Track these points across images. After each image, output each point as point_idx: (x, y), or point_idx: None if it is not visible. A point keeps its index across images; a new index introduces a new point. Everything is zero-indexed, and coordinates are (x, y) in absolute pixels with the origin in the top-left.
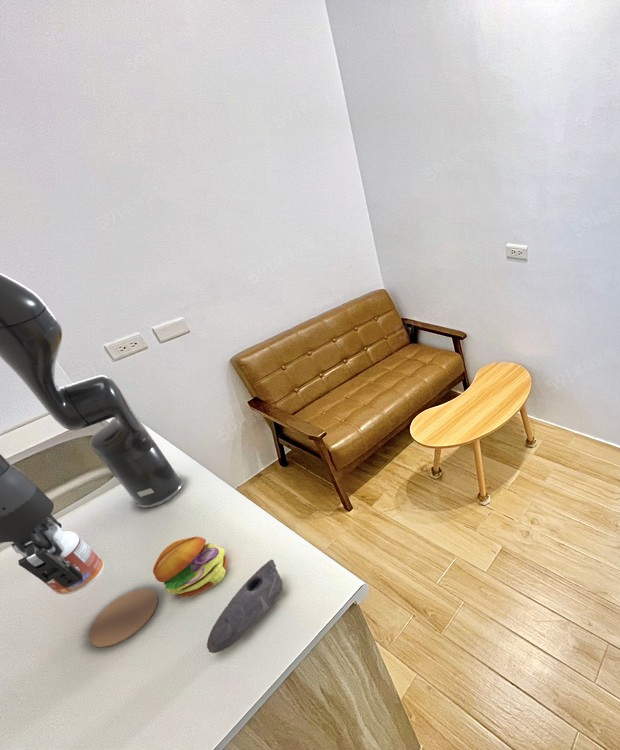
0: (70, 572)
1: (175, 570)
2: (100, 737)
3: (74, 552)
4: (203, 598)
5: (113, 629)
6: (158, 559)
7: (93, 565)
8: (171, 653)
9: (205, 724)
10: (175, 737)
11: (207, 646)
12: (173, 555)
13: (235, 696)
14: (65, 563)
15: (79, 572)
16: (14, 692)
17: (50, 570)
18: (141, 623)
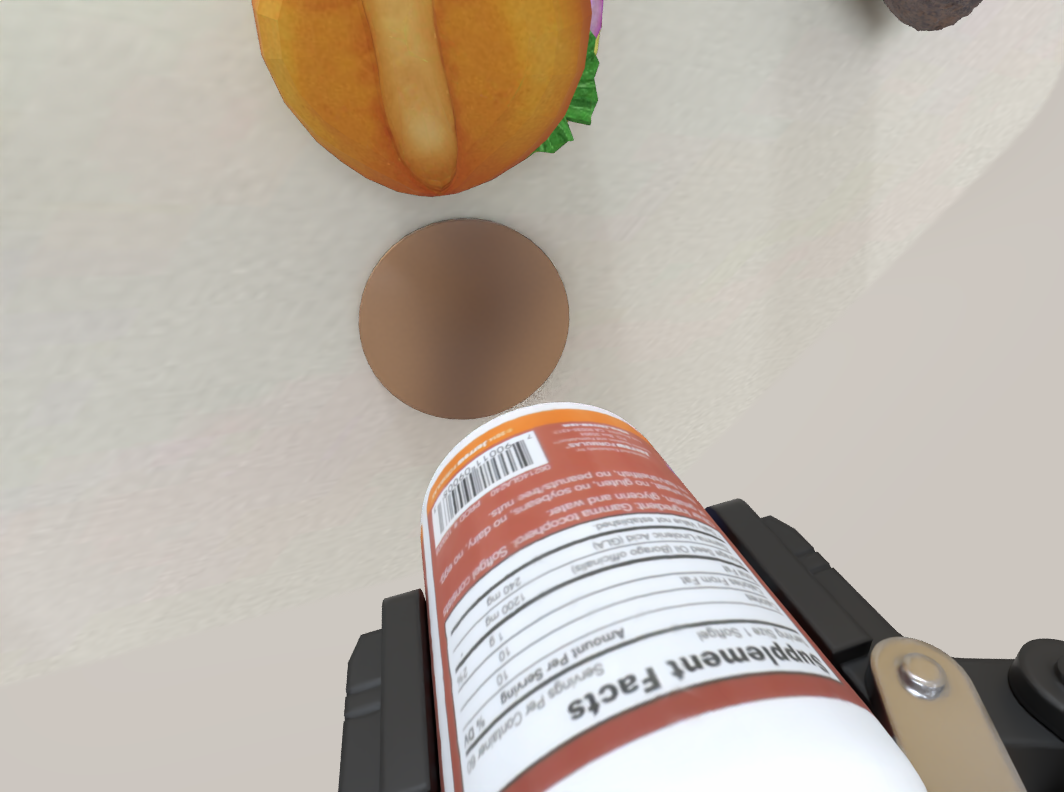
0: (848, 597)
1: (583, 50)
2: (799, 349)
3: (826, 669)
4: None
5: (505, 355)
6: (389, 152)
7: (649, 461)
8: (730, 184)
9: (1004, 111)
10: (957, 188)
11: (958, 19)
12: (519, 14)
13: (1028, 9)
14: (970, 696)
15: (750, 532)
16: None
17: (1030, 782)
18: (545, 273)
